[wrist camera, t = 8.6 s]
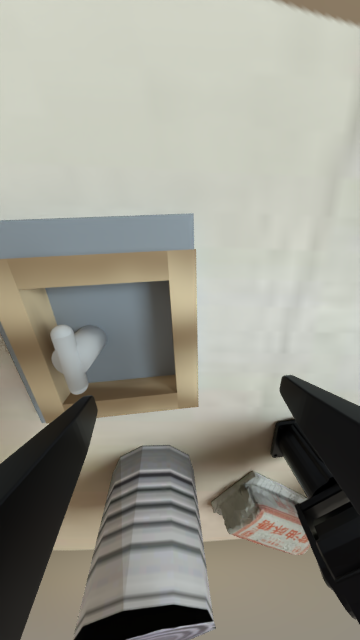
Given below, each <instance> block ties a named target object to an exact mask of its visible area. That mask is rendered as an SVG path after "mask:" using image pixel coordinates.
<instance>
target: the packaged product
mask: <svg viewBox="0 0 360 640" xmlns="http://www.w3.org/2000/svg"><path fill="white" fill-rule="evenodd" d="M307 499H308V498H305V497H304V496H302V495H300V494H298V493H297V492H295V491H293V490H291V489H289V488H287V487H286V486H284V485H282V484H280V483H277V482H275V481H273V480H271V479H268V478H266V477H264V476H262V475H260V474H259V473H256V472H254V471H252V472H250V473H249V474H247V475H246V476H245V477H243V478H242V479H241V480H239V481H238V482H237V483H235V484H234V485H233V486H231V487H230V488H229V489H228V490H226V491H225V492H224V493H222V494H221V495H220V496H218V497H217V498H216V499H214V500H213V501H212V502H211V503H212V507H213V512H214V513H216V512H217V513H218V514H219V515H223V518H224V520H225V526H226V528H227V531H228V533H229V534H232V535H234V536H237V537H239V538H242V539H247V540H248V541H252V542H254V543H257V544H261V545H264V546H267V547H271V548H274V549H277V550H280V551H283V552H286V553H289V554H297V555H298V554H300V555H302V554H304V553H305V552H306V551H307V550H308V548H309V547H310V543H309V541H308V539H307V536H306V534H305V532H304V529H303V527H302V525H301V522H300V520H299V518H298V514H297V511H296V508H295V506H294V505H295V504H297V503H302V502H303V501H305V500H307Z"/></svg>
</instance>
